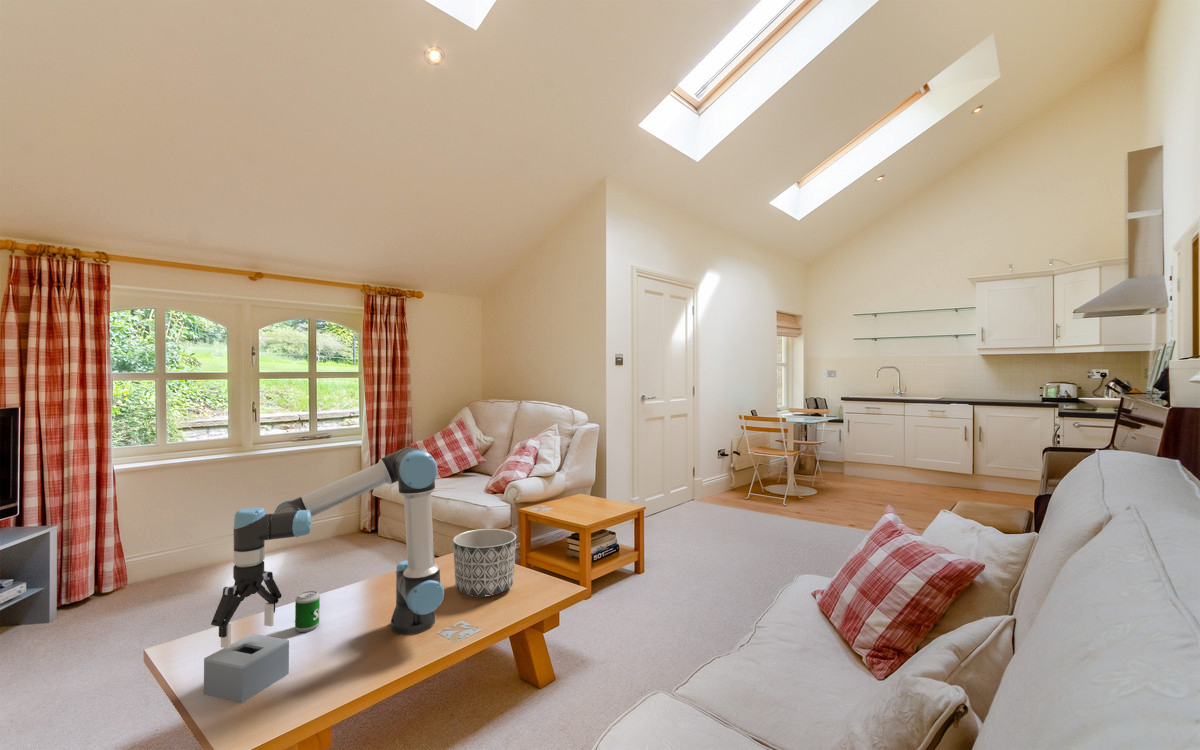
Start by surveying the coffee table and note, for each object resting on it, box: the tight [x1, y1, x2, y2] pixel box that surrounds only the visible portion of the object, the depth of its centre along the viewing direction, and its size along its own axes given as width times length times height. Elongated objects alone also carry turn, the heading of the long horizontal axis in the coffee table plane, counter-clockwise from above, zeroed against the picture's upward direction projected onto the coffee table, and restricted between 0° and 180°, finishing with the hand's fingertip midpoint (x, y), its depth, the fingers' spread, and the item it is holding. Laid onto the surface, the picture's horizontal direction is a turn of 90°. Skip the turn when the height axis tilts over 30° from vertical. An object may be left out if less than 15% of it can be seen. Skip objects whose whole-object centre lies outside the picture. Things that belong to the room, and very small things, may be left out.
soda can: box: [294, 590, 321, 633], centre depth 187 cm, size 8×8×12 cm
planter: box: [452, 528, 517, 597], centre depth 222 cm, size 26×26×22 cm
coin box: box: [203, 633, 290, 704], centre depth 153 cm, size 14×15×10 cm
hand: (248, 636), depth 154 cm, fingers open, 13 cm apart
